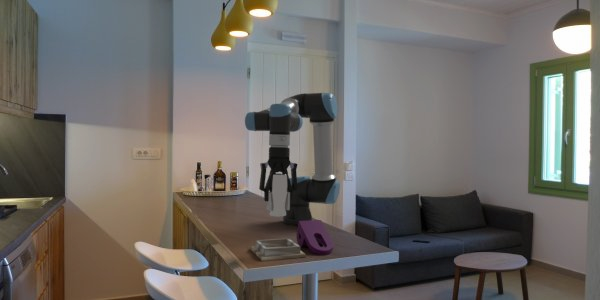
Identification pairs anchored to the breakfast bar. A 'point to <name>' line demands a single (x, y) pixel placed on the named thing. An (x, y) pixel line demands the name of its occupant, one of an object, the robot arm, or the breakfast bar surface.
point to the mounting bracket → (314, 236)
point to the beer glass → (278, 194)
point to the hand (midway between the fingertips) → (278, 209)
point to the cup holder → (277, 249)
